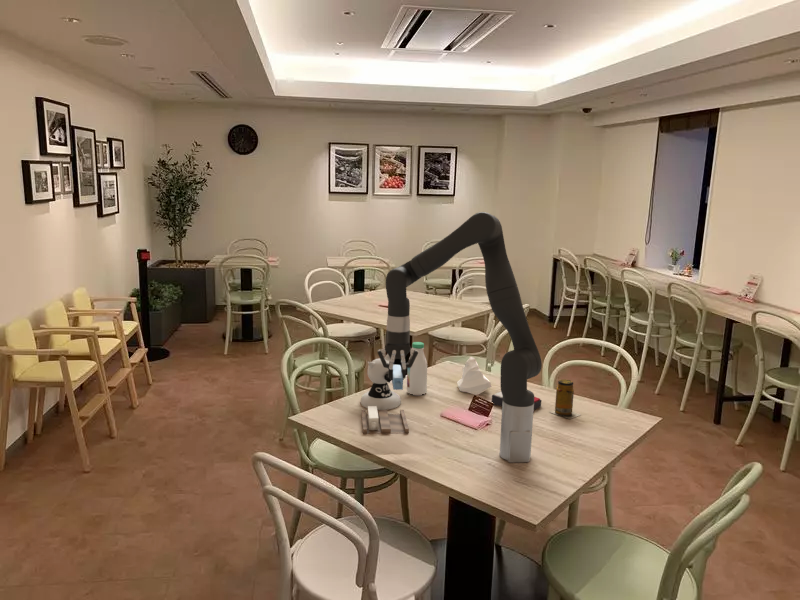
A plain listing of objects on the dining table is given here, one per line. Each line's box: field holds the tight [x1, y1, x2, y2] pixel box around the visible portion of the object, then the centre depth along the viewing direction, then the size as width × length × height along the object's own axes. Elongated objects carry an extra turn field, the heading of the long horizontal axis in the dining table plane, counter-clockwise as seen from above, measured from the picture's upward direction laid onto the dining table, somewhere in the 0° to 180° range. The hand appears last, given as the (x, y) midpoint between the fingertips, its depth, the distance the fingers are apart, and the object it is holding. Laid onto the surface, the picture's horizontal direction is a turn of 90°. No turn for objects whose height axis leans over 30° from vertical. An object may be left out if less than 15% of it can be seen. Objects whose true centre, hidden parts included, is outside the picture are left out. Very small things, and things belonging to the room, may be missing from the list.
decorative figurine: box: [360, 353, 402, 411], centre depth 223 cm, size 15×15×20 cm
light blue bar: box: [391, 364, 404, 391], centre depth 204 cm, size 15×3×4 cm, turn 5°
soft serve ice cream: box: [456, 356, 492, 396], centre depth 246 cm, size 12×15×14 cm
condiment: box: [550, 379, 581, 419], centre depth 222 cm, size 7×8×12 cm
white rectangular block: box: [367, 406, 379, 430], centre depth 205 cm, size 15×3×4 cm, turn 5°
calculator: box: [491, 391, 542, 411], centre depth 230 cm, size 11×4×15 cm
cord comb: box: [361, 409, 410, 435], centre depth 206 cm, size 17×15×3 cm
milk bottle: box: [406, 341, 428, 396], centre depth 239 cm, size 8×8×20 cm
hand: (396, 379), depth 204 cm, fingers closed on light blue bar, 3 cm apart
